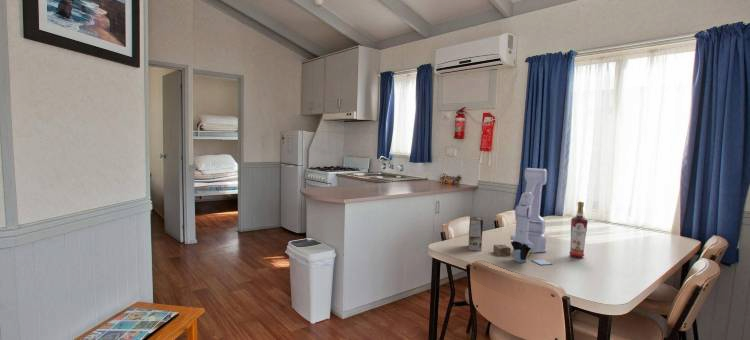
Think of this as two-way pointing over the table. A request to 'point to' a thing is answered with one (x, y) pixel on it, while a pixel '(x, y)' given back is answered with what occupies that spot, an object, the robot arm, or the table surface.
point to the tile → (541, 262)
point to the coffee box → (475, 233)
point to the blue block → (518, 256)
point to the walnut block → (502, 250)
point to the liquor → (578, 233)
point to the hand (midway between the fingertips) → (520, 258)
